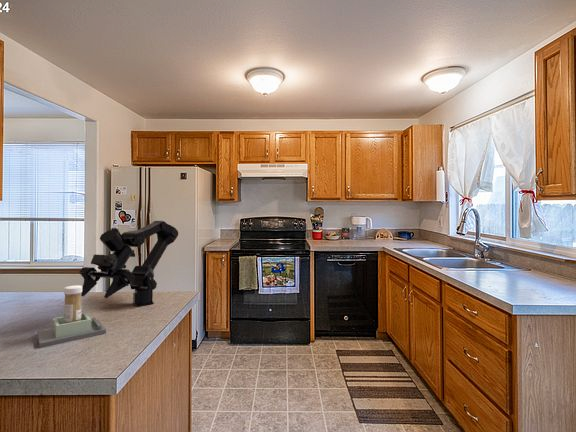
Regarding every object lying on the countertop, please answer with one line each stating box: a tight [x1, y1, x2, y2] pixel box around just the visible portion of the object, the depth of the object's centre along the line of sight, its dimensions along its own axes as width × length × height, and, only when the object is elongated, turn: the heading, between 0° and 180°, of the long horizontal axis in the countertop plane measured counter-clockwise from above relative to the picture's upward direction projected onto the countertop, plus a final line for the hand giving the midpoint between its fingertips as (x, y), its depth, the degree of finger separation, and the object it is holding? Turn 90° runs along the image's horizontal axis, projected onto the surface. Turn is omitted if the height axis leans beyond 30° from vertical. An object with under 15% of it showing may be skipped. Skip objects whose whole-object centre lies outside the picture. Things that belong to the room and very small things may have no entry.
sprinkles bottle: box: [63, 284, 83, 324], centre depth 93 cm, size 5×5×13 cm
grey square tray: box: [36, 312, 107, 348], centre depth 93 cm, size 16×12×5 cm
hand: (93, 296), depth 101 cm, fingers open, 9 cm apart
